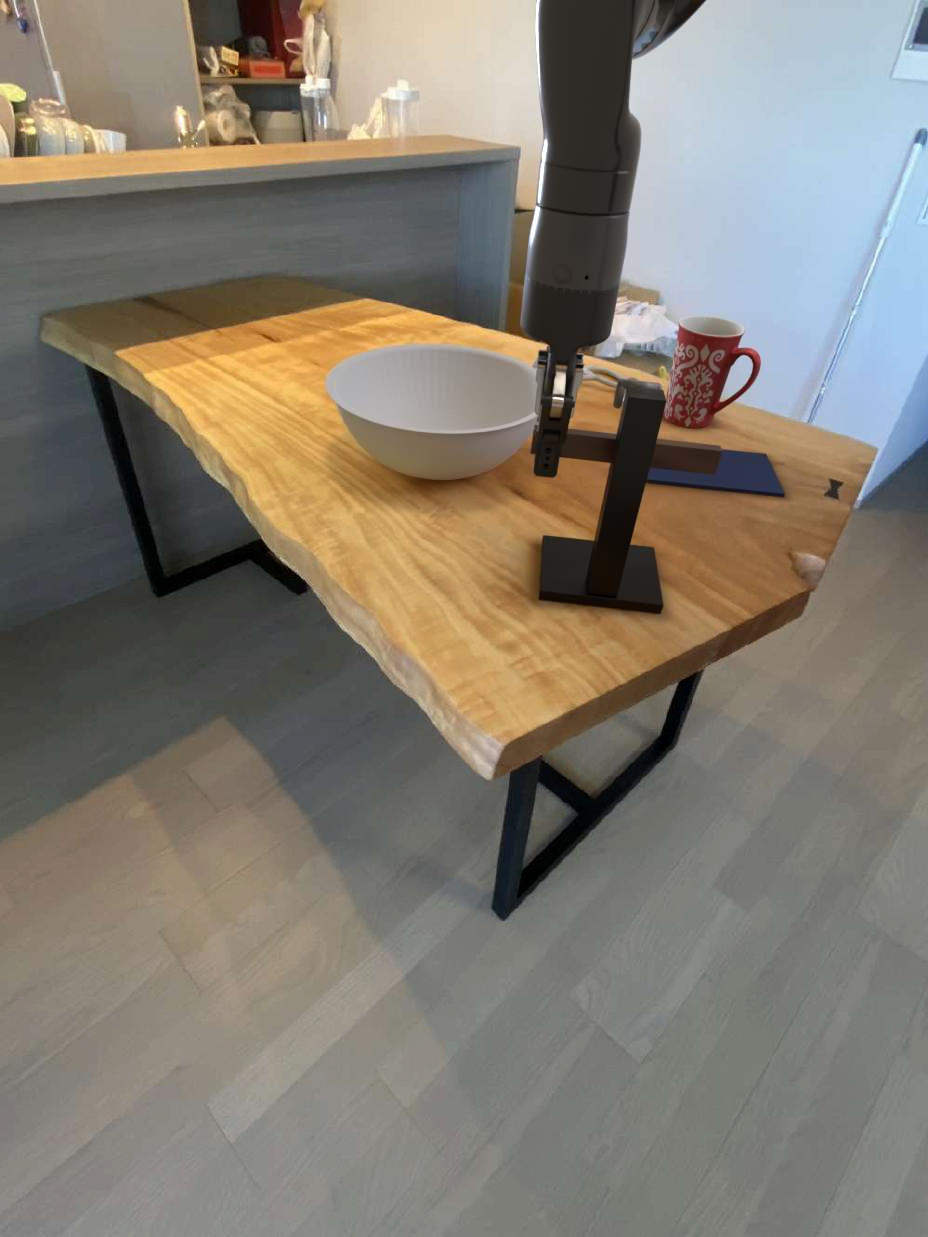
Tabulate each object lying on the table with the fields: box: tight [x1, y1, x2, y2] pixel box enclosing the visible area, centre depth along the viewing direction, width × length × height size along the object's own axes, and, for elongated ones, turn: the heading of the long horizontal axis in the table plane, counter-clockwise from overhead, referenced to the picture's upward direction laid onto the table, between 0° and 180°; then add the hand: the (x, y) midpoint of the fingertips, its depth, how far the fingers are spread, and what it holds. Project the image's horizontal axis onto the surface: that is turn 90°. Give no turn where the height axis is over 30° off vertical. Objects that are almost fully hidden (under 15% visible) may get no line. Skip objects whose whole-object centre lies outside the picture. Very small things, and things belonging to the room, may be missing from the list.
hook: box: [531, 356, 629, 389], centre depth 108 cm, size 7×9×20 cm
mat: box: [646, 448, 786, 498], centre depth 91 cm, size 20×11×1 cm, turn 83°
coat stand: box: [538, 377, 666, 615], centre depth 65 cm, size 12×10×21 cm
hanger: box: [530, 379, 723, 475], centre depth 61 cm, size 17×1×8 cm, turn 83°
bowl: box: [324, 343, 539, 481], centre depth 86 cm, size 27×27×10 cm
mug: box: [663, 315, 762, 429], centre depth 98 cm, size 13×9×14 cm
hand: (545, 469), depth 65 cm, fingers closed on hanger, 1 cm apart
